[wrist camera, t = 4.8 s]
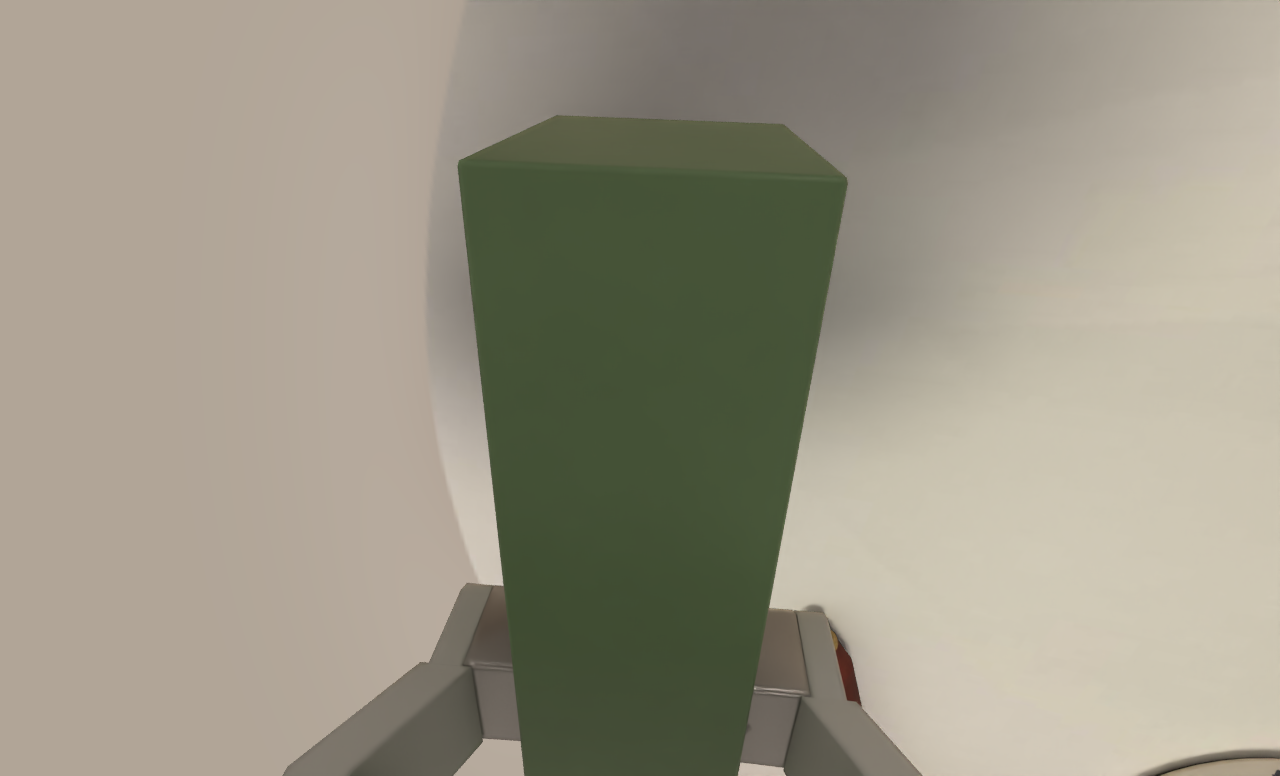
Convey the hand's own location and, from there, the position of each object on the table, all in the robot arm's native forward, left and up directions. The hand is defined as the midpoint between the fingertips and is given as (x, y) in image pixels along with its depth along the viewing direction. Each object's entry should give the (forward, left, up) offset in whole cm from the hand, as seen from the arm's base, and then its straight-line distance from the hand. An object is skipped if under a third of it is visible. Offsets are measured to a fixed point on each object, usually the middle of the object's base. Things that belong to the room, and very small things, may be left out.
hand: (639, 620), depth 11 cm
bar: (0, 0, -2) cm, 2 cm away
